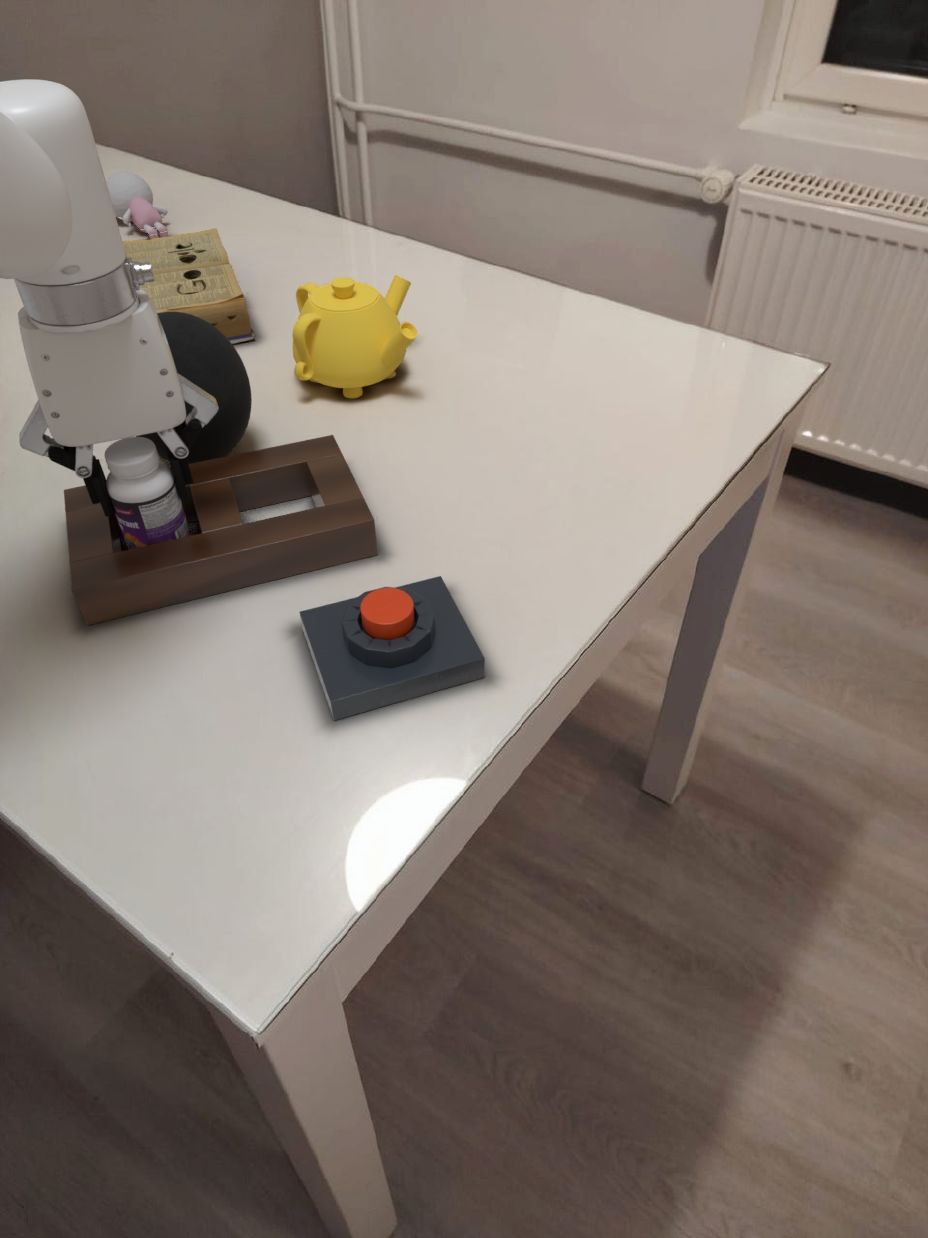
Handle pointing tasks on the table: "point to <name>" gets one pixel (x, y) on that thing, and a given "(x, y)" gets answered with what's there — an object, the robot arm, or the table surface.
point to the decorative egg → (208, 383)
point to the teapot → (350, 333)
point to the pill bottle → (143, 494)
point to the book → (194, 280)
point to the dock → (224, 532)
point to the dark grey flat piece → (391, 651)
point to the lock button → (387, 613)
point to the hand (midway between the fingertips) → (145, 496)
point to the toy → (136, 203)
